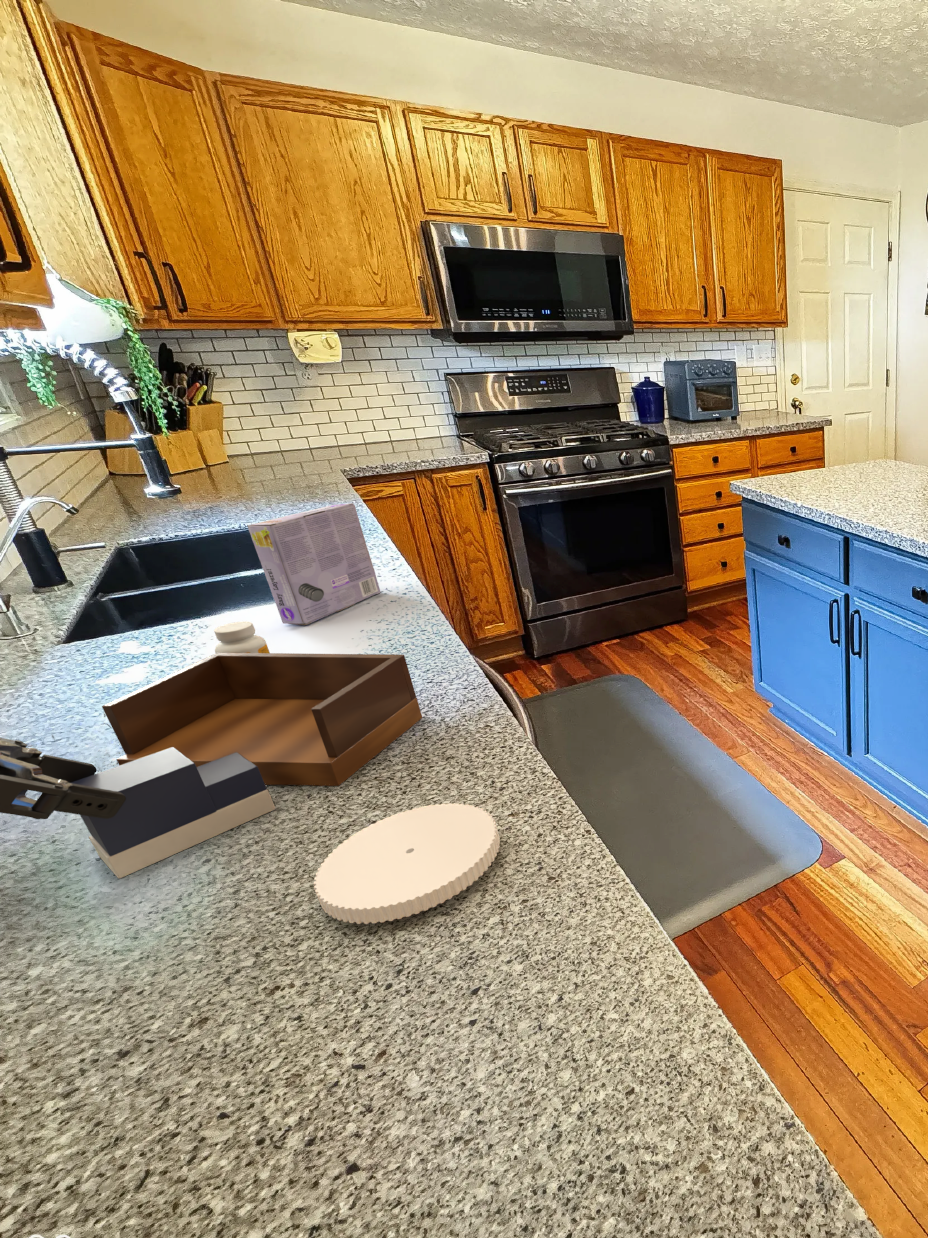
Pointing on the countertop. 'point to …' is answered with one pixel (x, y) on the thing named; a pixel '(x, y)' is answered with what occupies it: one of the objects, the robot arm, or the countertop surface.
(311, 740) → the wooden tray
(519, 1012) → the countertop surface
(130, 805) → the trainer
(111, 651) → the countertop surface
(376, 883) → the plastic lid
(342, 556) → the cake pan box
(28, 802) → the robot arm
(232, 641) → the supplement bottle
